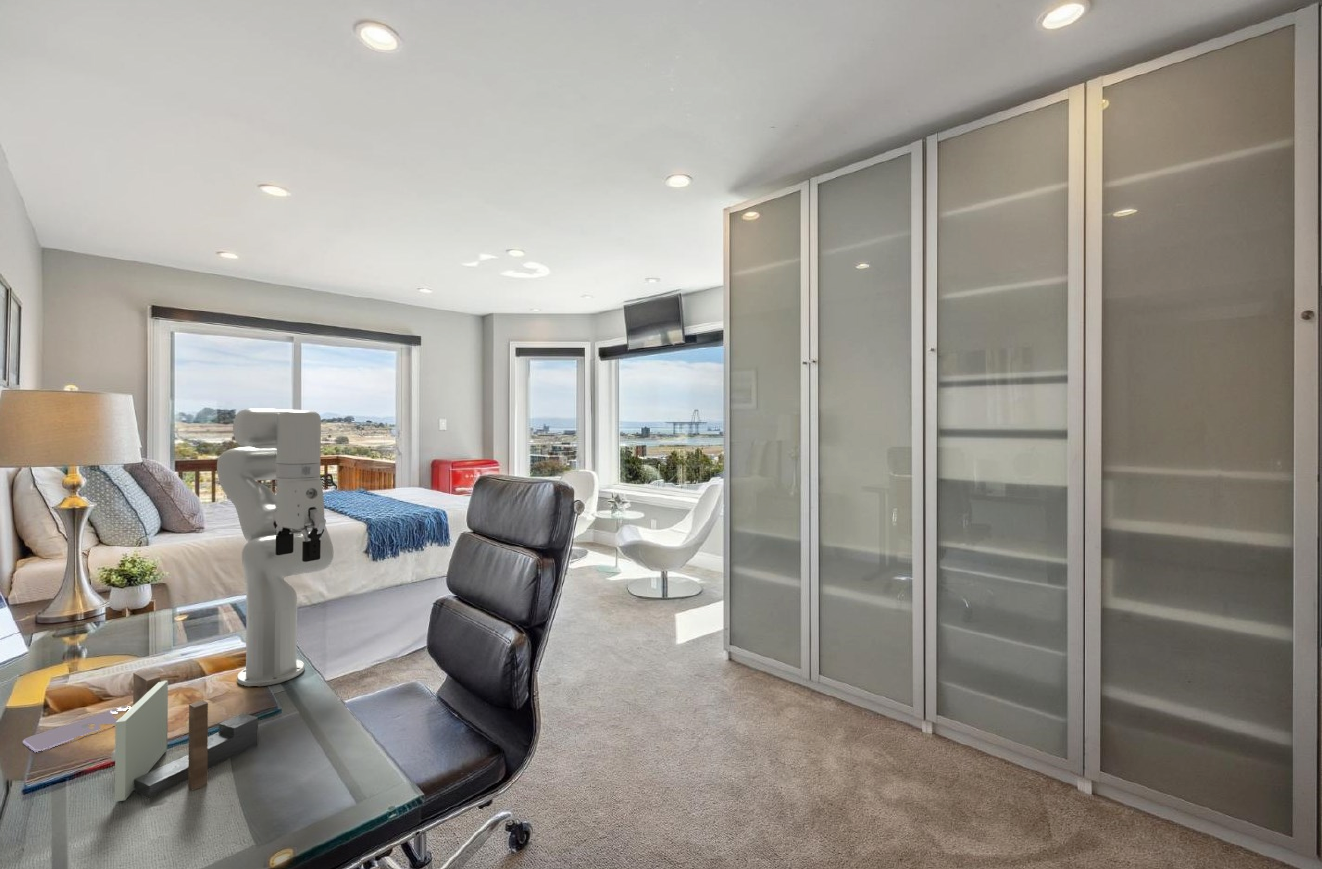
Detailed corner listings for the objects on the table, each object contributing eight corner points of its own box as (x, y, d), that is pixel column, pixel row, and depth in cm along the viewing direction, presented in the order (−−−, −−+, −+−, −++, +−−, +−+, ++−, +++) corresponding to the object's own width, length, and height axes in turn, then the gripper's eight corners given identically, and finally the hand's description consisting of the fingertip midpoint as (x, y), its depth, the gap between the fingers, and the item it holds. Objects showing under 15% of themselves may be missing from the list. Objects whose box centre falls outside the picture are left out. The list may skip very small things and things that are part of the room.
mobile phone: (20, 737, 102) (129, 702, 115) (20, 743, 102) (129, 707, 115) (36, 750, 98) (146, 712, 111) (36, 755, 98) (146, 717, 111)
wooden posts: (132, 746, 101) (133, 672, 101) (145, 741, 103) (146, 669, 102) (193, 790, 90) (194, 707, 89) (207, 784, 91) (207, 702, 91)
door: (153, 749, 100) (153, 680, 99) (169, 746, 100) (169, 678, 100) (106, 803, 86) (106, 723, 85) (125, 799, 86) (125, 720, 86)
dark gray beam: (242, 740, 104) (243, 712, 104) (257, 745, 102) (257, 717, 102) (134, 791, 89) (134, 759, 89) (149, 798, 87) (149, 766, 87)
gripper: (342, 473, 114) (341, 559, 115) (294, 468, 123) (293, 548, 123) (303, 476, 108) (302, 567, 108) (255, 470, 116) (254, 555, 117)
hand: (297, 557), depth 116 cm, fingers open, 9 cm apart
